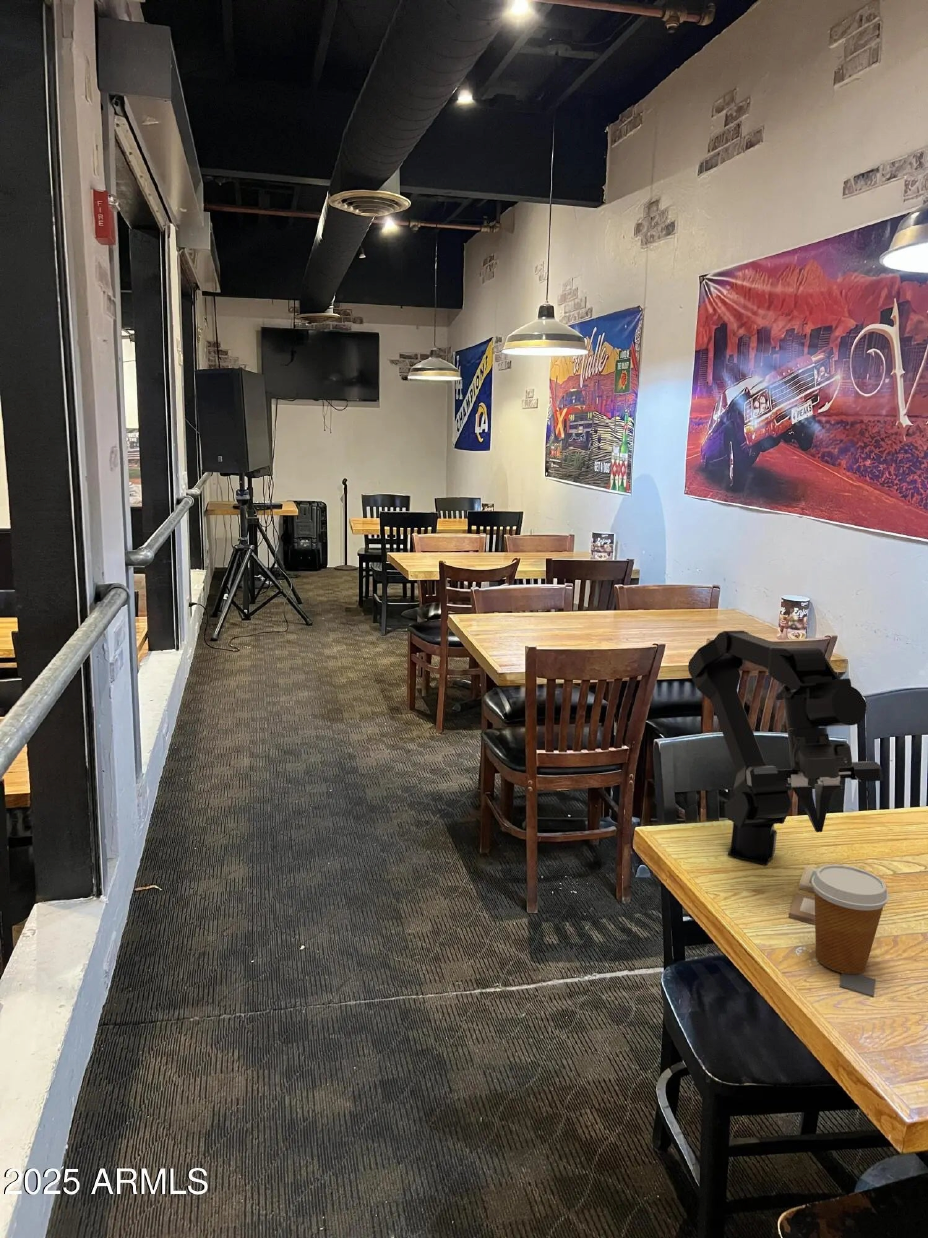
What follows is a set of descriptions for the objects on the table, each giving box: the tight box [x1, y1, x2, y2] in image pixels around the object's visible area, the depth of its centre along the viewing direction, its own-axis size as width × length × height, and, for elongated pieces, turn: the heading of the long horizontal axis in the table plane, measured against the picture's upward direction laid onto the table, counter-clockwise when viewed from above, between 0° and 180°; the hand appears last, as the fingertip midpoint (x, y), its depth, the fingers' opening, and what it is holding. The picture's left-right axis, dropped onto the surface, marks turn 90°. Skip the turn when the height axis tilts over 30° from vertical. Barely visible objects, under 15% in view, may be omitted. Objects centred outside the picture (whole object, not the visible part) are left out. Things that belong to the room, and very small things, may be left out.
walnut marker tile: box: [787, 891, 815, 926], centre depth 127 cm, size 7×7×1 cm
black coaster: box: [839, 973, 877, 998], centre depth 110 cm, size 4×4×1 cm
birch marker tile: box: [798, 865, 818, 893], centre depth 135 cm, size 7×7×1 cm
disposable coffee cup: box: [812, 864, 890, 974], centre depth 114 cm, size 10×10×12 cm
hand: (818, 832), depth 127 cm, fingers closed
